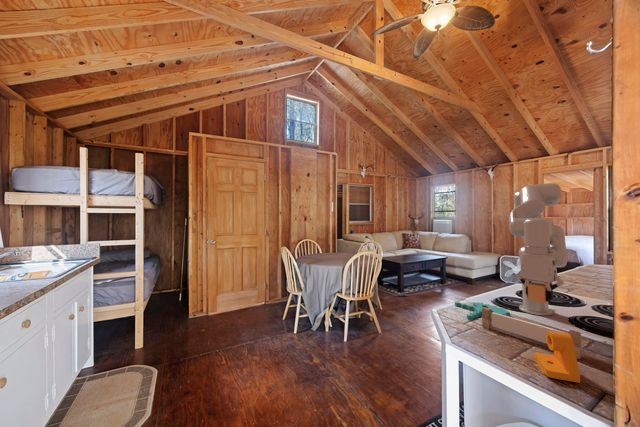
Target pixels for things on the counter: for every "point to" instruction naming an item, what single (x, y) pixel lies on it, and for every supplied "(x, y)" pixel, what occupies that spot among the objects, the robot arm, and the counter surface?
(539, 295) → the block
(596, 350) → the counter surface
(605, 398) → the counter surface
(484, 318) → the gate frame
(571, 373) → the bracket
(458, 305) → the alien figure
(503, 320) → the gate door
